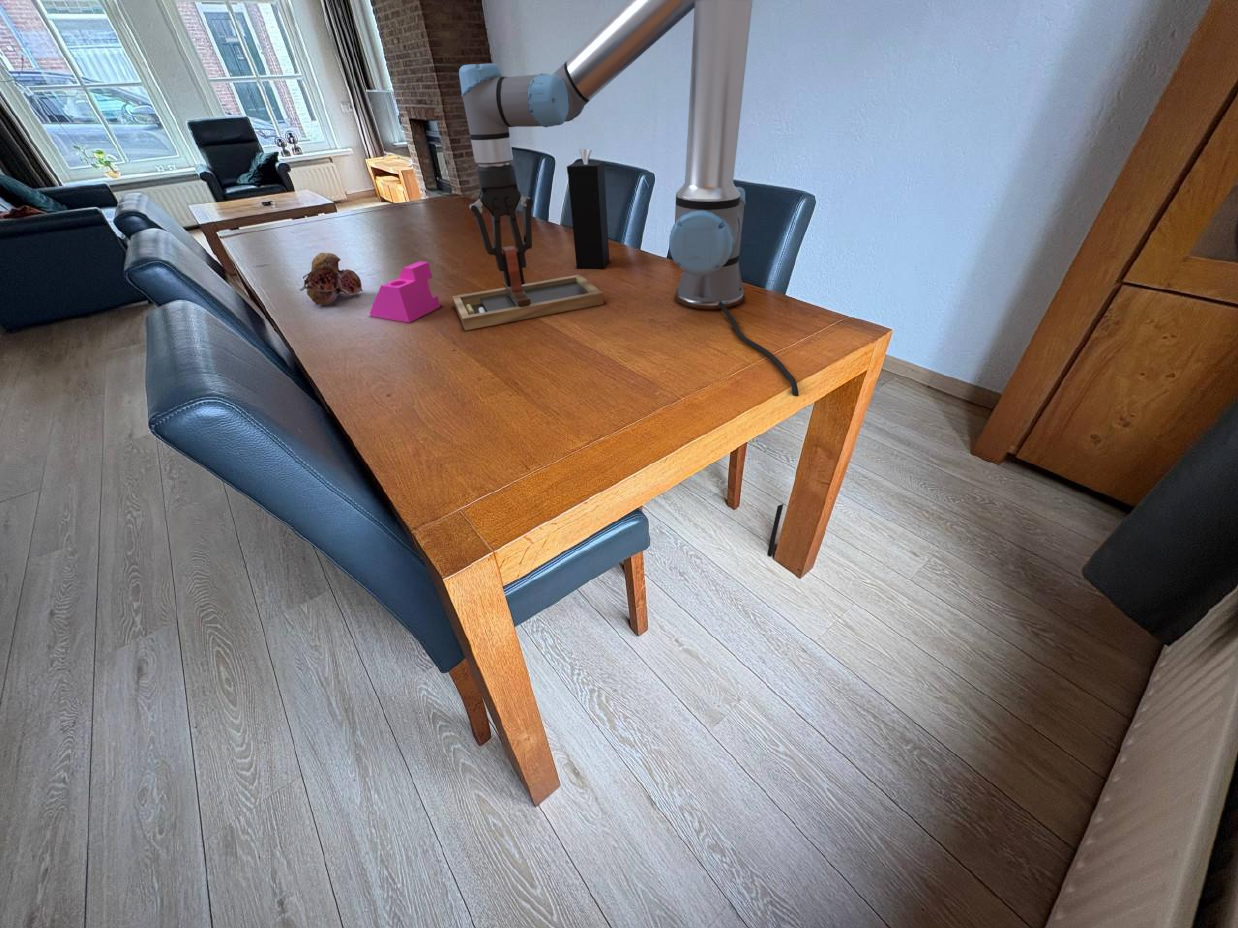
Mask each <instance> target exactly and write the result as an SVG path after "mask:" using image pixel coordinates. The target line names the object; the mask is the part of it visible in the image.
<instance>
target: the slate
mask: <svg viewBox="0 0 1238 928" xmlns="http://www.w3.org/2000/svg"><path fill="white" fill-rule="evenodd" d="M522 290H523V291H524V292H525V293H526V294H527V296H528V297H529V298H530V300H531V304H527V305H522V306H516V305H515V303H514V302H513V301H512V299H511V298H510V297H509V295H508V294H507V293H506V288H505V287H504V286H503V287H500V288H494V289H487V290H482V291H475V292H469V293H464V294H459V295H458V294H457V295H452V296H451V298H452V302H453V305H454V308H455V311H456V313H457V315H458V318H459V319H460V322H461V324H462V327H463V328H464V330H465V331H470V330H471V331H472V330H475V329H476V330H477V329H481V328H486V327H492V326H496V325H502V324H507V323H511V322H512V323H513V322H517V321H523V320H528V319H532V318H539V317H543V316H544V317H545V316H549V315H554V314H560V313H564V312H570V311H574V310H581V309H585V308H590V307H595V306H600V305H604V292H603V291H601V290H600V289H599V288H597V287H596V286H595V285H594V284H593V283H592V282H590V281H589V280H588V279H586V278H585V277H584V276H583V275H581V274H575V275H569V276H563V277H557V278H552V279H547V280H539V281H535V282H528V283H525V284H523V285H522ZM467 304H470V305H471V306H472V308H473V310H474V312H475V314H472V315H469V313H468V311H467V309H466V305H467ZM480 307H483V308H484V310H485V312H483V313H479V308H480Z"/></svg>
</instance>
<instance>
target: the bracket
mask: <svg viewBox="0 0 1238 928" xmlns="http://www.w3.org/2000/svg"><path fill="white" fill-rule="evenodd" d="M431 279H433V276H432V271H431V267H430V263H429V261H417V262H414V263H412V264H410V265H407V266H404V267H403V268H402V270H401V271H400V274H399V276H398V278H396V279H393V280H391V281H389V282H387V283H384V284H382V285H380V287H379V289H378V292H377V294H376V296H375V299H374V302H373V304H372V306H371V309H370V310H369V315H370V317H373V318H374V317H375V318H380V319H386V320H392V321H398V322H403V323H404V322H405V323H409V324H410V323H411V322H413V321H415V320H417V319H419V318H421V317H423V316H425V315H428V314H429V313H431V312H434V311H436V310H438V309H439V308H440V307H441V304H440V300H439V296H438V295H432V292H431V287H430V284H429V280H431Z"/></svg>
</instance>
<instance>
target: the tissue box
mask: <svg viewBox="0 0 1238 928" xmlns="http://www.w3.org/2000/svg"><path fill="white" fill-rule="evenodd" d="M591 153H592V149H587V148H585V149H584V148H579V155H580V157H581V159H582V161H576V162H573V163H571V164H569V165H567V166H566V172H567V173H566V174H567V178H568V179H567V181H568V190H569V200H570V209H571V221H572V222H571V223H572V232H573V243H574V254H575V262H576V263H575V264H576V269H604V268H605V267H606V266H607V265H608V263H609V262H610V247H609V245H610V244H609V229H608V226H609V225H608V212H607V211H608V209H607V191H606V174H605V171H606V170H605V169H606V168H605V161H589V160H590V156H591Z"/></svg>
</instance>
